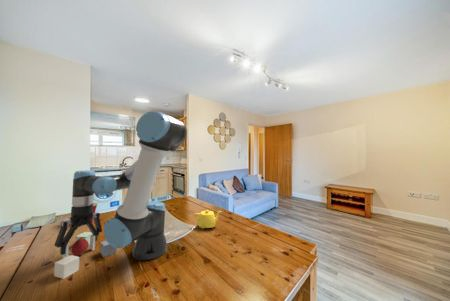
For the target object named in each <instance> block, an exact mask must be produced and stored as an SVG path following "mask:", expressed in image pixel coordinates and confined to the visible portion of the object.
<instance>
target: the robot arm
mask: <svg viewBox="0 0 450 301" xmlns="http://www.w3.org/2000/svg"><path fill="white" fill-rule="evenodd" d="M135 132H137V133H136V135H137V137H138V138H139V140H138V144H139V146H140V148H141V149H140V152H139V155H138V157H137V160H136V161H134V162H133V163H132V164H131V165H130V166H129V167H128V168H127V169H126V170H125V171H124V172H123V173H121V174H113V175H112V174H111V175H103V176H102V175H96V171H95V170H76V171H74V174H73V179H72V198H71V205H72V206H71V211H70V218H69V219H67V220H62V221H61V222H60V229H59V231H58V234H57V237H56V240H55V243H54V244H53V245H54V247H56V248H60V250H59V252H60V255H61V256H62V258H61V259H63V258H65V257H67V256H69V249H70V247H69V244H68V243H69V242H70V240H71V239H72V237H73V235H74V234H75V232H76V230H77V229H78V228H80V227H82V226H86V227H87V228H88V229H89V232H92V234H93V235H90V244H89V250H91V251H95V249H96V248H95V247H96V242H97V241H98V236H99V235H100V233H102V232H103V234H104V237H105V241H106V240H107V242H108V243H109V244H110V245H111V246H112V247H114V248H116V249H123V248H124V247H127V246H129V245H131V244H132V243H133V242H135V244H134V246H133V248H132V257H133V259H135V260H138V261H151V260H155V259H157V258H159V257H161V256H163V255H164V254H165V253H166V252H167V250H168V242H167V243H166V241H167V237H166V235H165V221H166V219H165V217H166V204H165V203H164V202H162V201H150V198H151V195H152V192H153V189H154V186H155V182H156V180H157V177H158V174H159V171H160V167H161V165H162V161H163V159H164V158H165V157H166V156H168V155H169V154H170V153H171V152H173V153H174V152H175V151H177V150H178V149H179V148H180V147H181V146H182V144H184V142H185V141H186V140H187V137H188V136H187V135H188V129H187V127H186V125H185V124H184V122H183V121H181V120H180V119H177V118H174V117H173V116H170V115H168V114H165V113H164V112H160V111H155V110H152V111H151V110H150V111H148V112H146V113H144V114H142V115H141V116H140V118H138V121H137V123H136V127H135ZM125 189H127V191H126V195H125V198H124V200H123V201H124V202H123V203H122V204H121V205H118V207H117V209H116V211H115V215H114V217H111V218H109V219H107V220H106V221H105V223H104V226H103V228H102V224H101V219H100V217H101V216H100V215H101V214H100V212H97V211H95V213H92V211H93V204H92V203H94V197H95V194H97V195H101V196H103V195H110V194H113V192H116V191H121V190H125ZM92 217H93V221H94V224H93V221H92V222H91V221H90V220H91V218H92ZM70 223H71V224H70ZM69 225H70V226H69ZM94 225H95V226H94ZM68 226H69V229H68Z"/></svg>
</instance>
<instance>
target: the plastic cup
mask: <svg viewBox="0 0 450 301" xmlns="http://www.w3.org/2000/svg"><path fill="white" fill-rule="evenodd" d="M92 204H93V211H92V213H95V212H96V211H97V210H96V209H97V206H98V202H93V203H92ZM90 221H91V222H92V223H93V221H94V218H93V217H92V218H91V220H90Z"/></svg>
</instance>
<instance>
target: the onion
mask: <svg viewBox="0 0 450 301" xmlns="http://www.w3.org/2000/svg"><path fill="white" fill-rule="evenodd" d="M89 246H90V244H89V243H88V241H87V240H85V239H83V237H80V238H79V240H77V241H76V242H74V243H73V244H72V245H71V250H70V251H71V253H72V254H73V256H81V255H82V254H84V253H86V251H87V250H88V248H89Z"/></svg>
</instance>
